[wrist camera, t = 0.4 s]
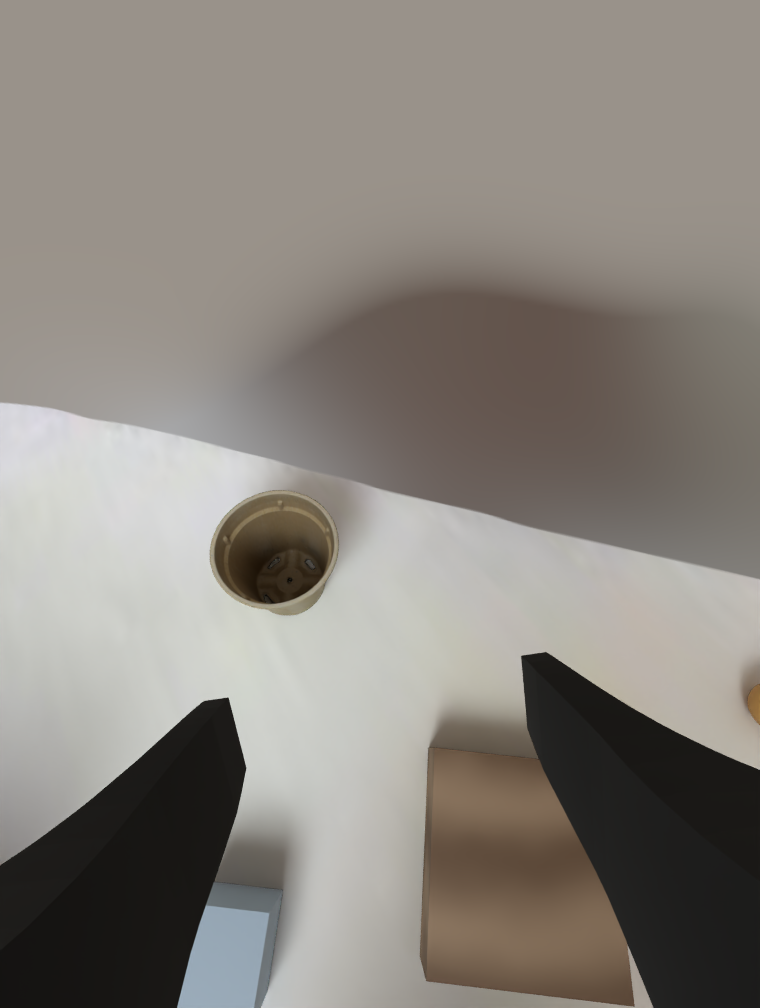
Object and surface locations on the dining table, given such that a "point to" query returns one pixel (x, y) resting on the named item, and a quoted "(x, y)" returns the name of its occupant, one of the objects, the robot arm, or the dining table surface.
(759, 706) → the figurine
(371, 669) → the dining table surface
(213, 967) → the slate cube
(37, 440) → the dining table surface
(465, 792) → the walnut base block
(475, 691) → the dining table surface
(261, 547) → the flower pot
